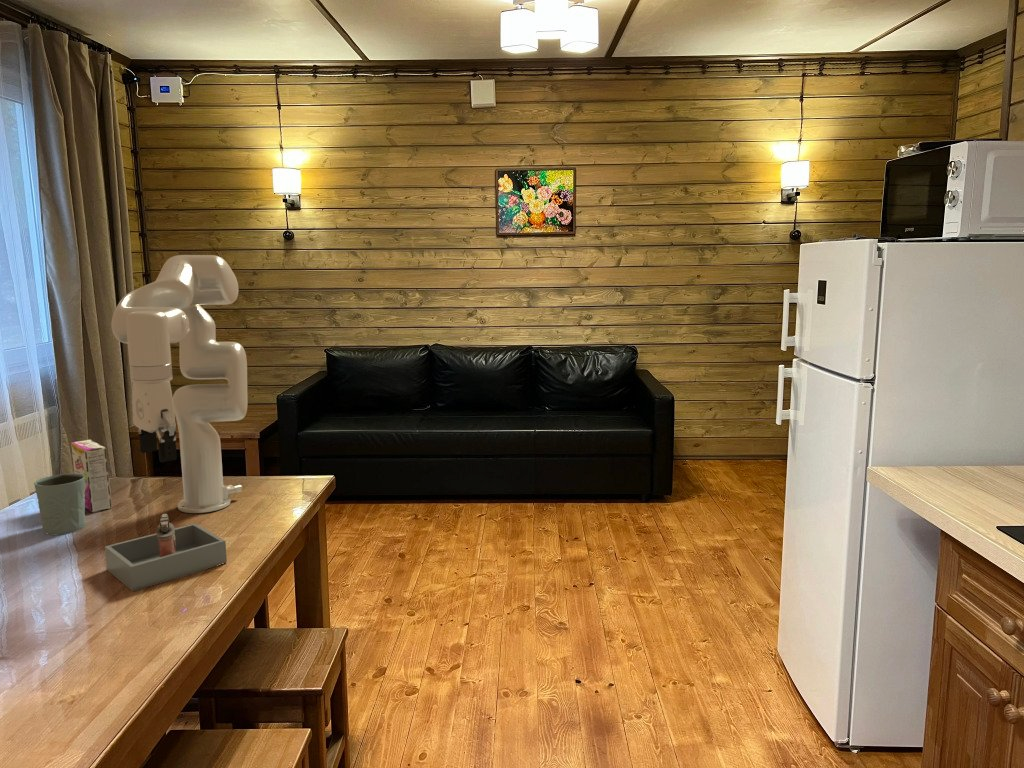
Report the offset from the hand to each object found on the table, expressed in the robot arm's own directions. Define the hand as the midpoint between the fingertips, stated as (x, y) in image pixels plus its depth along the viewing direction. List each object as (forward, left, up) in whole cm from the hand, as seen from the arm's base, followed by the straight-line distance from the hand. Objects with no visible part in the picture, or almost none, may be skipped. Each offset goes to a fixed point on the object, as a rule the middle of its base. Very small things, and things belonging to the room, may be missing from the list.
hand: (158, 456), depth 151 cm
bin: (0, +1, -23) cm, 23 cm away
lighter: (0, +1, -23) cm, 23 cm away
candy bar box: (-2, -51, -24) cm, 56 cm away
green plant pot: (+8, -39, -24) cm, 46 cm away
